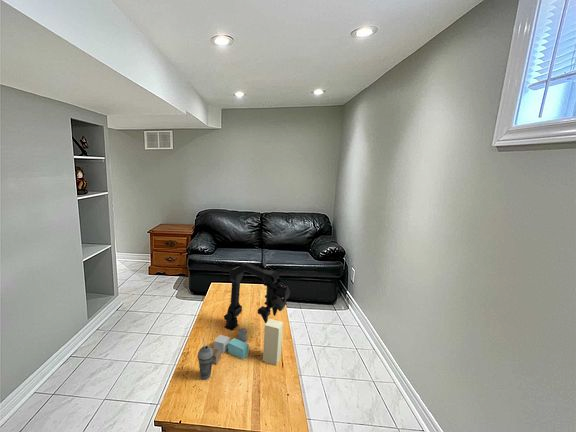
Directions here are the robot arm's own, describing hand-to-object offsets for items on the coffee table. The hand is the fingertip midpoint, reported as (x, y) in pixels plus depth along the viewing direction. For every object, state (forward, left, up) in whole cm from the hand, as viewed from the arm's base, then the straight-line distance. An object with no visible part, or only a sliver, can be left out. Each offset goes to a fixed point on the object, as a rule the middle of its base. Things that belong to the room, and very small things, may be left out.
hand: (270, 319), depth 153 cm
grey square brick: (-19, -19, -15) cm, 31 cm away
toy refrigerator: (+9, -11, -15) cm, 20 cm away
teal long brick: (-9, -17, -15) cm, 24 cm away
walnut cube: (-16, -28, -15) cm, 35 cm away
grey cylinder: (-14, -7, -15) cm, 22 cm away
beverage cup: (-12, -38, -15) cm, 42 cm away
